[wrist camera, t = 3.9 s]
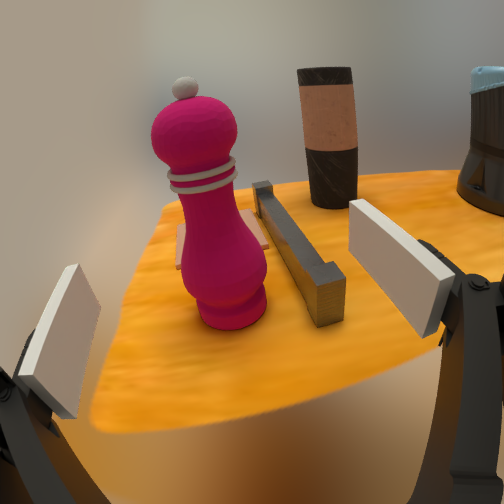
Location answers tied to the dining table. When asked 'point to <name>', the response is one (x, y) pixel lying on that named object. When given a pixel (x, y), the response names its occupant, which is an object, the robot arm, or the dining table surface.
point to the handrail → (302, 259)
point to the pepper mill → (210, 208)
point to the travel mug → (330, 134)
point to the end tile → (246, 217)
